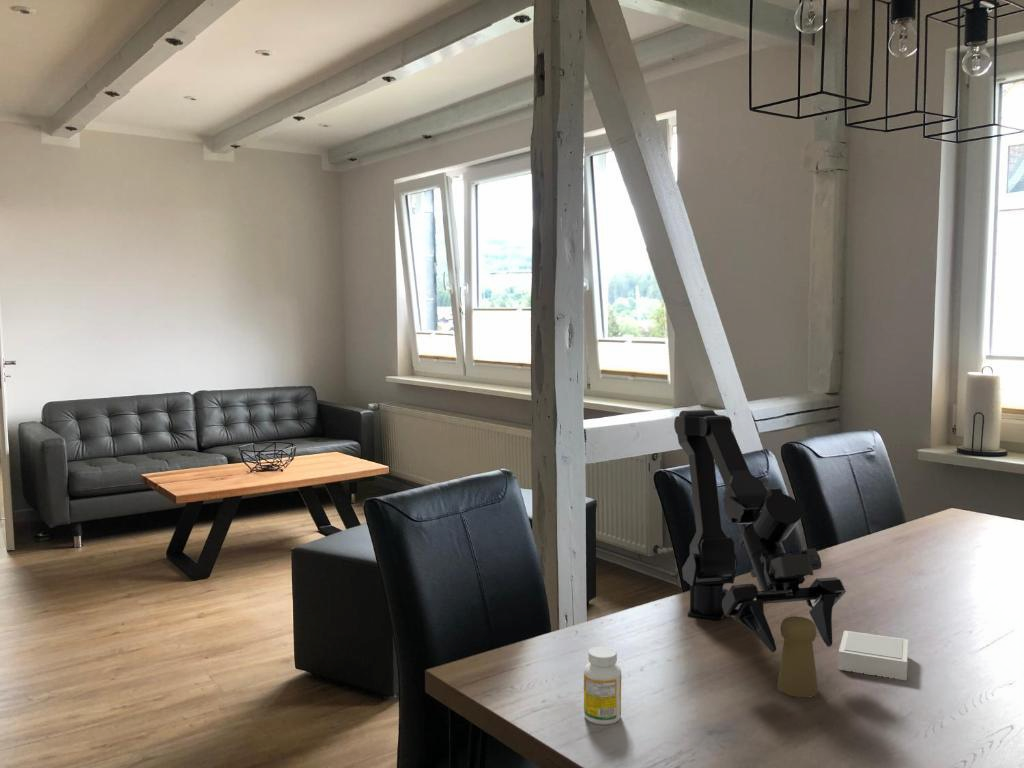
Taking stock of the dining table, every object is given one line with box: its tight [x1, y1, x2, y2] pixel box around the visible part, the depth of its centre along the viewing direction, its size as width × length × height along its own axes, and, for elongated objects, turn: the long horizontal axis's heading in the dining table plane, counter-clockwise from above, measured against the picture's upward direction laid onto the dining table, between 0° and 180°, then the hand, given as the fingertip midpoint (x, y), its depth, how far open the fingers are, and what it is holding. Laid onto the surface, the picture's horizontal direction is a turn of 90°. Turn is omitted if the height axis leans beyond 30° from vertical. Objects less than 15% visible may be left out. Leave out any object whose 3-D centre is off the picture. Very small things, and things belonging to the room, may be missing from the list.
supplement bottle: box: [583, 646, 622, 726], centre depth 122 cm, size 5×5×10 cm
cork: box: [776, 615, 819, 698], centre depth 130 cm, size 6×6×11 cm
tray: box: [837, 630, 909, 681], centre depth 139 cm, size 10×10×3 cm
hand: (802, 648), depth 129 cm, fingers open, 9 cm apart
